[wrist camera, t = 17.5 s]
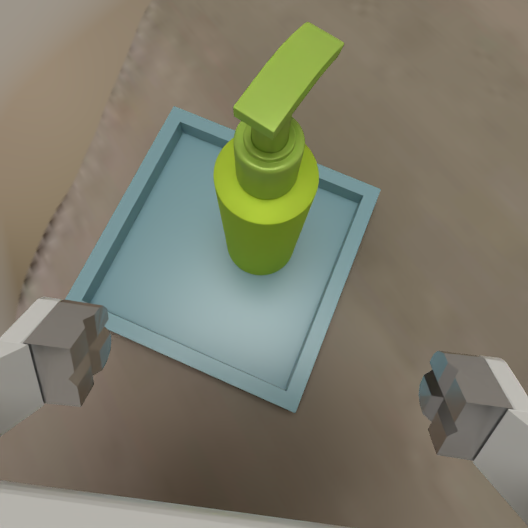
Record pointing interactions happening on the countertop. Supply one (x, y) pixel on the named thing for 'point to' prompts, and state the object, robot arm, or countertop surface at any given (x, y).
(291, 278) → the tray
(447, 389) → the robot arm
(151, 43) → the countertop surface
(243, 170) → the soap dispenser
